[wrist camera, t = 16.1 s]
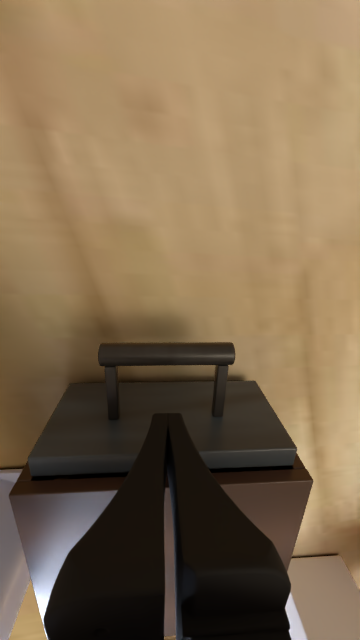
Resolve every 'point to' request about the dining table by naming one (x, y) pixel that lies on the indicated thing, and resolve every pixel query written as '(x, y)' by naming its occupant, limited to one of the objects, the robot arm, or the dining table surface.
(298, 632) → the milk carton
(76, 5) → the dining table surface
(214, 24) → the dining table surface
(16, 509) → the cabinet
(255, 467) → the drawer
